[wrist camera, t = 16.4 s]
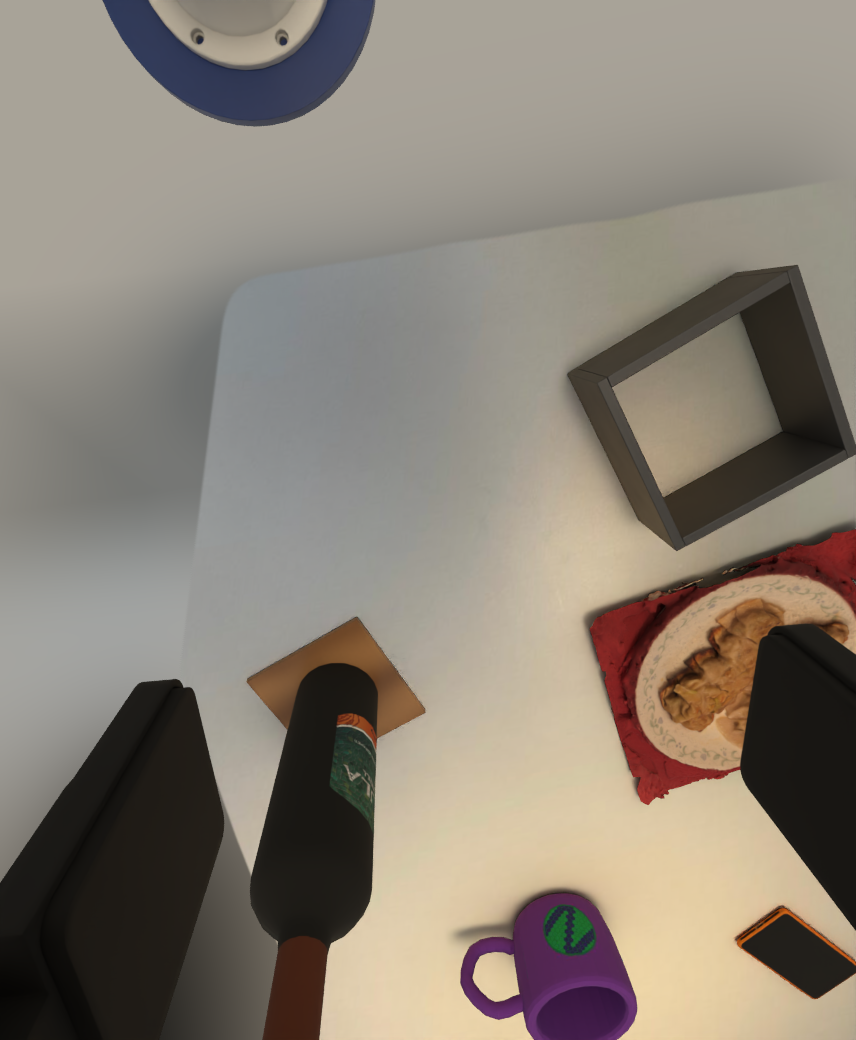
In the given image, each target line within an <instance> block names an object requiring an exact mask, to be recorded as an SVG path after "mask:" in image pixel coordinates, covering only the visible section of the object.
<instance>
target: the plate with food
mask: <svg viewBox="0 0 856 1040" xmlns="http://www.w3.org/2000/svg"><path fill="white" fill-rule="evenodd" d="M752 567H755V568H756V567H758V568H757V569H755V570H753V571H751V572H749V573H747V574H745V575H742V576H739V577H738V578H734V579H731V580H728V581H725V582H724V583H722V584H718V585H713V586H711V587H707V588H699V586H693V587H691V586H692V585H693V584H694V585H696V584H697V583H698V582H700V581H702V580H703V578H701V579H700V580H697V581H694V582H691V583H688V582H687V583H688V584H687V583H685V585H682V586H679V587H677V588H675V589H673V591H676V592H671V591H670V590H669V591H668V593H667V592H665V593H664V592H662V593H661V591H656V592H655V593H654V594H649V597H647V598H645V599H643V601H641V602H636V603H633V604H630V605H627V606H625V607H622V608H619V609H616V610H613V611H610V612H608V613H606V614H603V615H602V616H601V617H597V618H596V619H595V621H594V623H593V626H592V627H591V628H589V629H590V632H591V635H592V637H593V643H594V645H595V647H596V651H597V657H598V660H599V663H600V666H601V669H602V671H606V677H605V684H606V688H607V691H608V695H609V698H610V701H611V705H612V707H611V709H612V712H613V714H614V719H615V723H616V726H617V729H618V733H619V736H620V740H621V742H622V746H623V748H624V750H625V753H626V757H627V759H628V763H629V767H630V770H631V772H632V775H633V777H641V779H640V782H639V785H638V789H637V791H638V794H639V797H640V800H641V802H643V803H645V804H647V805H649V804H650V802H651V801H652V800H653V799H655V798H656V797H659V798H664V796H663V795H664V794H667V795H668V794H669V792H668V790H670V789H674V788H677V787H681V786H684V785H687V784H691V782H695V781H699V780H700V779H705V778H707V779H708V780H709V779H712V778H715V779H721V778H724V777H725V776H727V775H728V773H731V772H734V771H737V770H740V760H741V754H742V748H743V741H744V735H745V729H746V722H747V716H748V710H749V704H750V697H751V691H752V685H753V678H754V672H755V666H756V660H757V653H758V647H759V643H760V640H761V639H762V637H764V636H767V635H768V632H769V631H770V629H771V628H773V627H775V626H782V625H794V624H805V623H808V624H814V625H815V626H817V627H819V628H820V629H822V630H823V631H824V632H826V633H827V634H829V635H830V636H831V637H833V638H834V639H835V640H837V641H838V642H840V643H841V644H842V645H844V646H845V647H846V648H848V649H849V650H850V651H852V652H853V653H855V654H856V585H855V583H854V582H852V579H851V578H853V579H854V580H856V529H854V530H851V531H848V532H843V533H832V536H831V538H829V539H828V540H826V541H824V542H821V543H819V544H817V545H814V546H802V545H801V544H796V546H793V547H787V549H786V551H785V552H781V553H779V554H778V555H776V556H775V555H772V556H770V557H769V558H764V559H760V560H758V561H756V562H753V563H751V564H748V565H747V566H743V567H742V568H737V569H736V568H731V569H730V570H729V571H728V572H729V573H731V572H732V571H734V572H735V571H741V570H744V569H746V568H752ZM724 572H725V573H722V574H726V573H728V572H727V570H726V571H724ZM682 583H684V582H682ZM689 587H691V588H689Z"/></svg>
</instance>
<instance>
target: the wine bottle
mask: <svg viewBox="0 0 856 1040" xmlns="http://www.w3.org/2000/svg"><path fill="white" fill-rule="evenodd" d="M377 711H378V691H377V688H376V685H375V682H374V681H373V680H372V679H371V677H370V676H369V675H368V674H367V673H366V672H364V671H363V670H361V669H360V668H358V667H356V666H353V665H349V664H346V663H329V664H325V665H322V666H318V667H317V668H315V669H313V670H312V671H310V672H309V673H308V674H307V675H306V676H305V677H304V678H303V679H302V681H301V682H300V685H299V688H298V691H297V694H296V698H295V702H294V706H293V710H292V714H291V718H290V722H289V726H288V730H287V734H286V739H285V743H284V747H283V751H282V755H281V759H280V763H279V767H278V771H277V775H276V779H275V783H274V787H273V791H272V795H271V799H270V803H269V807H268V811H267V815H266V819H265V824H264V828H263V832H262V836H261V840H260V844H259V848H258V852H257V856H256V860H255V864H254V868H253V872H252V876H251V884H250V886H251V887H250V897H251V906H252V908H253V910H254V912H255V914H256V916H257V918H258V920H259V922H260V924H261V926H262V928H263V929H264V930H265V931H266V932H267V933H269V935H271V936H272V937H273V938H274V939H275V940H277V941H278V954H277V960H276V966H275V971H274V977H273V983H272V988H271V994H270V1000H269V1006H268V1011H267V1017H266V1023H265V1028H264V1034H263V1040H319V1036H320V1025H321V1015H322V1005H323V995H324V984H325V974H326V964H327V955H328V951H329V948H330V944H331V943H332V942H334V941H336V940H338V939H340V938H342V937H344V936H345V935H346V934H347V933H348V932H349V931H350V930H351V929H352V928H353V927H354V926H355V925H356V924H357V922H358V921H359V920H360V918H361V917H362V916H363V915H364V913H365V910H366V908H367V906H368V904H369V902H370V897H371V892H372V872H373V840H374V808H375V775H376V743H377Z"/></svg>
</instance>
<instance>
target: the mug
mask: <svg viewBox="0 0 856 1040" xmlns="http://www.w3.org/2000/svg"><path fill="white" fill-rule="evenodd" d="M491 952H504V953H507V954H509V955H511V954H514V960H515V967H516V974H517V980H518V987H519V993H520V994H519V995H516V996H513V997H511V998H509V999H507V1000H505V1001H499V1002H494V1001H492V1000H490V999H488V998H487V997H486V996H485V995H484V994H483V993H482V992H481V991H480V990H479V988H478V987H477V986H476V985H475V983H474V981H473V978H472V977H473V973H474V968H475V964H476V962H477V960H478V959H479V957H480V956H481V955H484V954H486V953H491ZM460 983H461V986H462V988H463V991H464V993H465V995H466V996H467V997H468V999H469V1000H470V1001H471V1003H472V1004H473V1005H474V1006H475V1007H476V1008H477V1009H479V1010H480V1011H481V1012H482V1013H483V1014H484V1015H486V1016H489V1017H492V1018H495V1019H498V1020H499V1019H504V1018H509V1017H511V1016H513V1015H515V1014H517V1013H520V1012H522V1011H523V1014H524V1019H525V1023H526V1028H527V1030H528V1032H529V1033H530V1035H531V1036H532V1037H533V1039H534V1040H617V1039H619V1038H620V1037H621V1036H622V1035H623V1034H624V1033H625V1032H627V1031H628V1029H629V1028H630V1026H631V1025H632V1024H633V1022H634V1020H635V1016H636V1013H637V1001H636V996H635V993H634V990H633V988H632V985H631V982H630V979H629V977H628V974H627V971H626V968H625V966H624V964H623V961H622V959H621V956H620V954H619V951H618V949H617V946H616V944H615V941H614V939H613V937H612V935H611V933H610V931H609V929H608V927H607V925H606V923H605V921H604V919H603V918H602V916H601V914H600V912H599V910H598V909H597V908H596V907H595V906H594V905H593V904H592V903H591V902H590V901H589V900H587V899H585V898H583V897H581V896H578V895H574V894H569V893H556V894H551V895H546V896H543V897H541V898H538V899H536V900H535V901H533V902H532V903H530V904H529V905H527V906H526V908H525V909H524V910H523V911H522V912H521V913H520V914H519V916H518V918H517V920H516V922H515V926H514V932H513V940H510V939H507V938H504V937H490V938H485V939H481V940H479V941H477V942H476V943H474V944H473V945H471V946H470V947H469V949H468V951H467V953H466V955H465V957H464V959H463V963H462V968H461V981H460Z"/></svg>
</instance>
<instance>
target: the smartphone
mask: <svg viewBox="0 0 856 1040" xmlns="http://www.w3.org/2000/svg"><path fill="white" fill-rule="evenodd" d="M737 945H738V946H739V947H740V948H741V949H743V950H744V951H745V952H747V953H748V954H750V955H751V956H752V957H754V958H755V959H757V960H758V961H760V962H761V963H762V964H764V965H765V966H767V967H768V968H769V969H771V970H772V971H774V972H775V973H777V974H778V975H779V976H780V977H782V978H783V979H784V980H786V981H788V982H789V983H790V984H791V985H793V986H794V987H796V988H797V989H799V990H800V991H801V992H803V993H805V994H806V995H808V996H809V997H811V998H812V999H818V998H820V997H821V996H823V995H824V994H826V993H827V992H829V991H830V990H832V989H833V988H835V987H836V986H838V985H839V984H841V983H842V982H844V981H845V980H847V979H848V978H850V977H851V976H853V975H854V974H856V962H855V961H854V960H853V959H851V958H850V957H849V956H847V955H846V954H845V953H844V952H842V951H841V950H840V949H838V948H837V947H836V946H834V945H833V944H832V943H830V942H829V941H828V940H827V939H825V938H824V937H823V936H821V935H820V934H819V933H817V932H816V931H815V930H813V929H812V928H811V927H809V926H808V925H807V924H806V923H804V922H803V921H802V920H800V919H799V918H798V917H796V916H795V915H794V914H792V913H791V912H790V911H789V910H787V909H785V908H781V909H779V910H777V911H776V912H775V913H773V914H772V915H770V916H769V917H768V918H766V919H765V920H763V921H762V922H761V923H759V924H758V925H757V926H755V927H754V928H752V929H751V930H750V931H748V932H747V933H745V934H744V935H743V936H741V937H740V938H739V939H738V940H737Z"/></svg>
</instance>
